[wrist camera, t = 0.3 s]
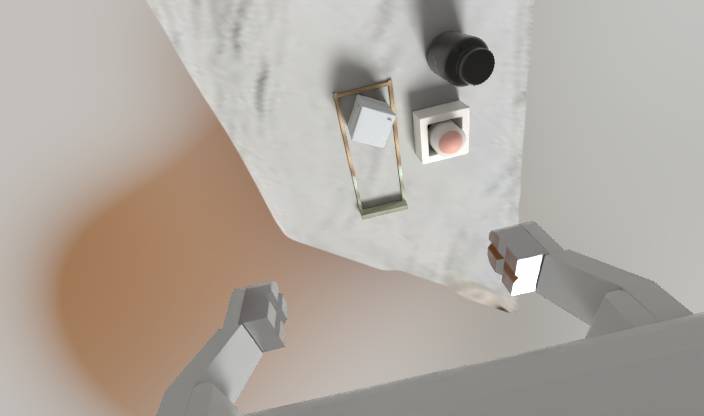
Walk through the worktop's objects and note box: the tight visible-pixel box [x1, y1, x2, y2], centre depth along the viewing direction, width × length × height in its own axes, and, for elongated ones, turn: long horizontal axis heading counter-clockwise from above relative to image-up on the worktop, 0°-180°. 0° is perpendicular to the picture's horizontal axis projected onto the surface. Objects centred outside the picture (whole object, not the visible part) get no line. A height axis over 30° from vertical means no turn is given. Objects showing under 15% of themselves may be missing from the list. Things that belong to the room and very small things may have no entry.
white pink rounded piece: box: [428, 120, 466, 157], centre depth 54 cm, size 6×6×6 cm
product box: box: [347, 94, 396, 148], centre depth 52 cm, size 6×6×7 cm
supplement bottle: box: [427, 31, 495, 87], centre depth 46 cm, size 7×7×12 cm
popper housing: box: [412, 100, 470, 164], centre depth 57 cm, size 9×9×4 cm
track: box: [333, 80, 408, 220], centre depth 59 cm, size 27×10×2 cm, turn 11°
